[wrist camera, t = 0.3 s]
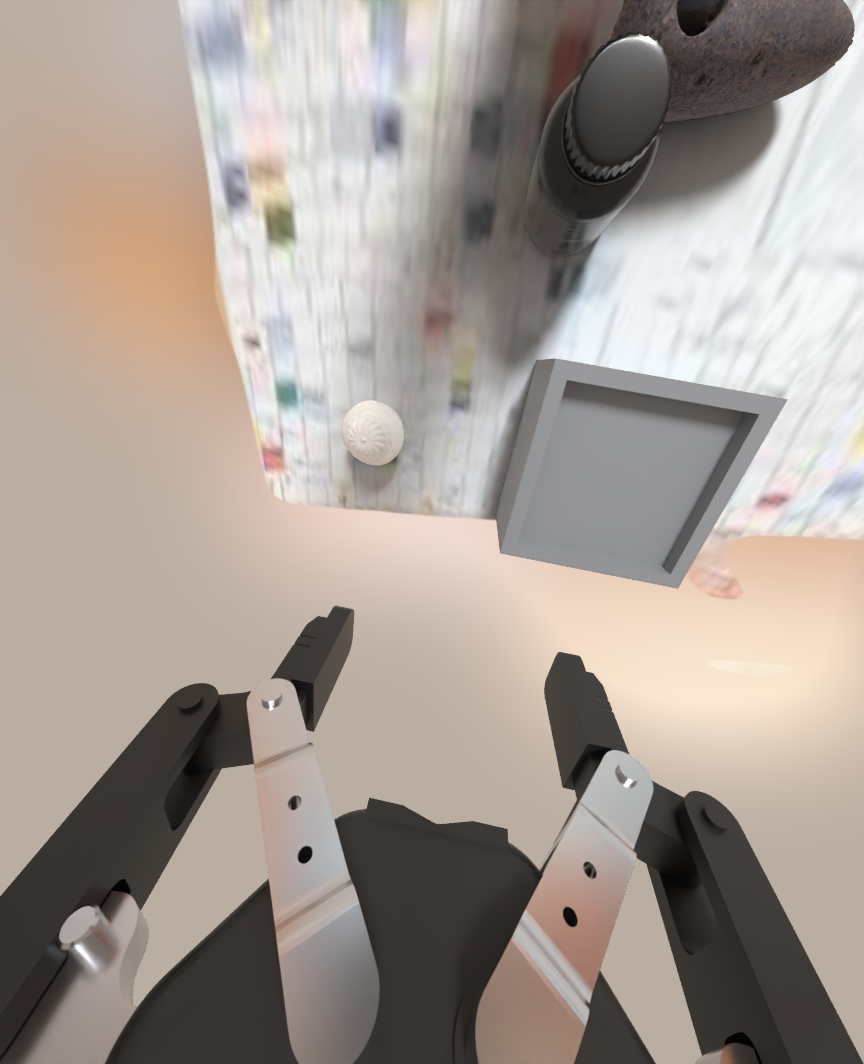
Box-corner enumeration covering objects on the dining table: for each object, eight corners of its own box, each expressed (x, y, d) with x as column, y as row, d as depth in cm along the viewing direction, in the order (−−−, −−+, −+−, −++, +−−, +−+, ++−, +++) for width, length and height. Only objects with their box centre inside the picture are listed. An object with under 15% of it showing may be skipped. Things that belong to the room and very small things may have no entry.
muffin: (347, 402, 36) (319, 410, 30) (403, 391, 35) (387, 397, 29) (362, 460, 39) (340, 479, 33) (415, 452, 38) (403, 469, 32)
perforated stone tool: (819, 36, 23) (947, -87, 17) (779, 146, 25) (877, 75, 19) (585, 34, 24) (623, -83, 18) (567, 140, 26) (594, 70, 20)
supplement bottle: (631, 170, 27) (735, 39, 16) (580, 273, 30) (639, 221, 19) (550, 128, 26) (601, -37, 15) (507, 237, 29) (524, 162, 18)
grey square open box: (536, 360, 33) (555, 358, 25) (707, 390, 32) (787, 399, 24) (495, 513, 40) (500, 553, 32) (635, 540, 39) (677, 588, 31)
